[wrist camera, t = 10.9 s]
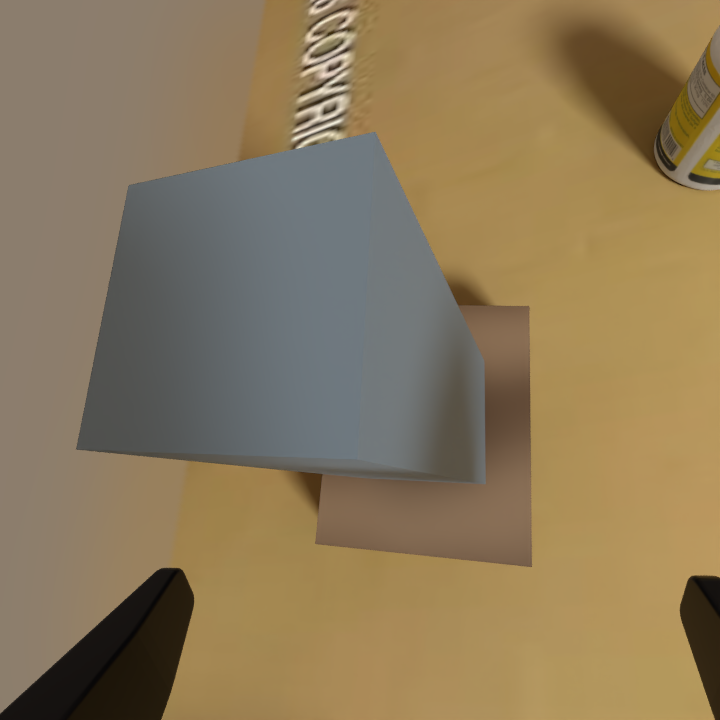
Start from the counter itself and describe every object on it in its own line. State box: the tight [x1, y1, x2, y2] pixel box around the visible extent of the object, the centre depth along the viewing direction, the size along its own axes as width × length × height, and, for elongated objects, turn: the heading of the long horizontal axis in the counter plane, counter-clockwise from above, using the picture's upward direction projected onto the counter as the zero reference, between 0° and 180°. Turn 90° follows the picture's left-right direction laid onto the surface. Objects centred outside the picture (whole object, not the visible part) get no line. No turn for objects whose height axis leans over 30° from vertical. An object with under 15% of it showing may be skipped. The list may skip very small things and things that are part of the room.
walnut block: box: [315, 305, 532, 567], centre depth 21 cm, size 10×8×4 cm
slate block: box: [76, 132, 486, 484], centre depth 13 cm, size 5×5×13 cm
